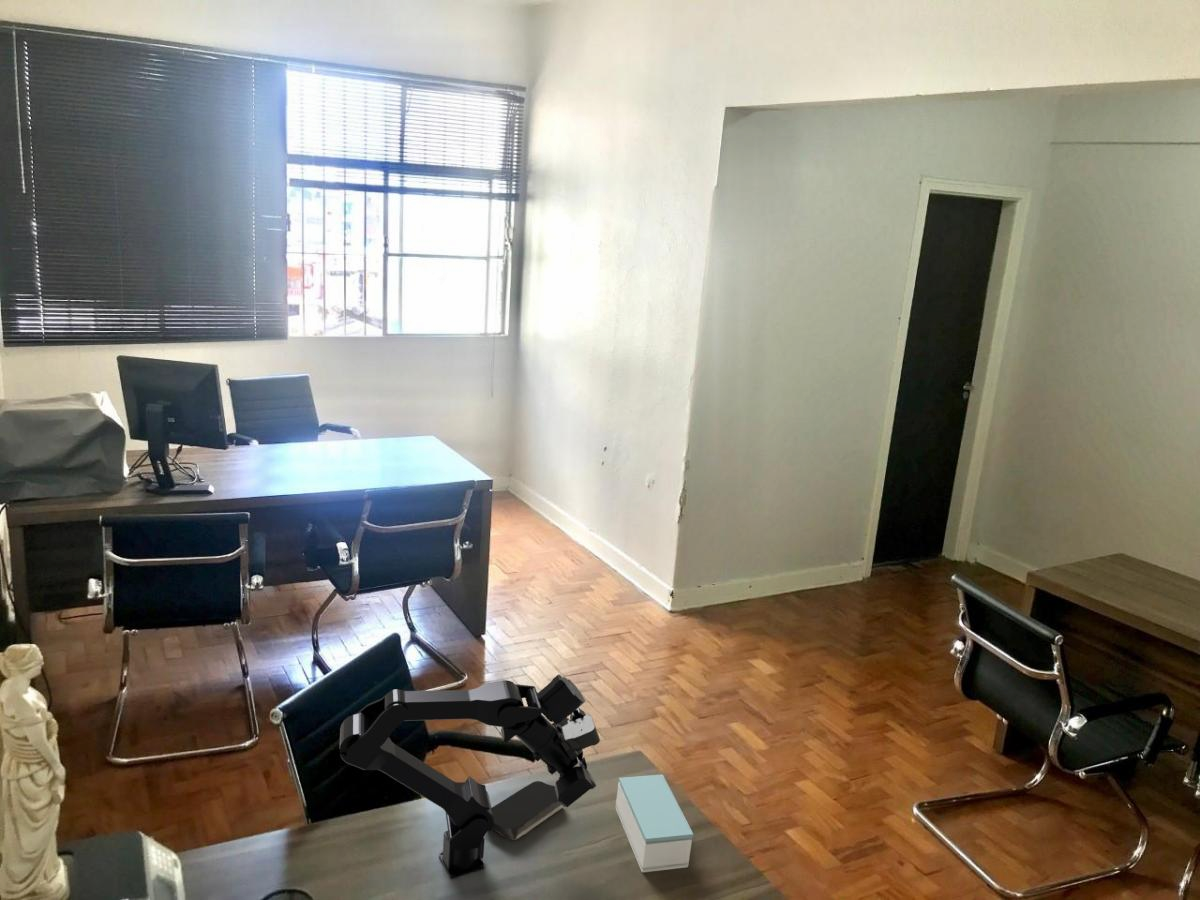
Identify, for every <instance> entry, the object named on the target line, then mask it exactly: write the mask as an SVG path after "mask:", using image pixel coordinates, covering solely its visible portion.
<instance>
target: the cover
mask: <svg viewBox="0 0 1200 900" xmlns="http://www.w3.org/2000/svg"><path fill="white" fill-rule="evenodd" d="M618 783H620V785H621V788H622V790H623V792H624V795H625V797H626V799H627V801H628V804H629V806H630V808H631V811H632V813H633V815H634V818H635V820H636V822H637V824H638V827H639V829H640V831H641V834H642V836H643V838H644V840H645V843H647V842H657V841H667V840H677V839H687V838H691V839H693V838H694V833H693V830H692V829H691V827H690V825H689V823H688V821H687V819H686V817H685V815H684V813H683V811H682V809H681V807H680V805H679V803H678V801H677V799H676V797H675V796H674V793H673V792H672V789H671V788H670V785H669V784H668V782H667V780H666V778H665V776H664V775H663V774H650V775H638V776H637V775H636V776H627V777H626V776H624V777H619V778H618Z"/></svg>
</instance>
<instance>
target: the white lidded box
mask: <svg viewBox="0 0 1200 900" xmlns="http://www.w3.org/2000/svg"><path fill="white" fill-rule="evenodd" d="M615 800H616V801H615V810H616V813H617V815H618V818H619V820H620V822H621V826H622V827H623V830H624V832H625V835H626V838H627V839H628V842H629V844H630V847H631V849H632V852H633V854H634V857H635V859H636V862H637V864H638V867H639V868H640V870H641V873H650V872H659V871H665V870H667V871H669V870H674V869H675V870H676V869H684V868H689V864H690V863H689V862H690V855H691V850H692V842H693V840H692V839H693V838H687V839H677V840H667V841H657V842H647V843H645V840H644V838H643V836H642V834H641V831H640V829H639V827H638V824H637V822H636V820H635V818H634V815H633V813H632V811H631V808H630V806H629V804H628V801H627V799H626V797H625V795H624V792H623V790H622V788H621V785H620V783H619V782H618V783H617V792H616V799H615Z"/></svg>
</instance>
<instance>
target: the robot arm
mask: <svg viewBox="0 0 1200 900" xmlns="http://www.w3.org/2000/svg"><path fill="white" fill-rule="evenodd" d="M523 699H525V702H526V706H525V705H524V701H523ZM585 702H586V699H585V698H584V695H583V694H582V692H581V691H580V689H578V687H577V686H576V685H575V684H574V682H573V681H572V680H571V679H569V678H567V677H565V676H562V675H561V674H557V675H556V676H554V677H553V678H552V680H551V681H550V682H549V683H548V684H547V685H546V686H544V687H543V688H542V689H541V690H540V691H537V688H536V686H535V685H534V686H533V685H526V684H517V683H514V682H513V681H512V680H508V679H507V680H497V681H492V682H487V683H483V684H482V685H480V686H478V687H476V688H473V689H472V688H471V689H456V690H455V689H450V690H449V689H447V690H444V689H443V690H402V689H399V688H396V689H391V690H390V691H389V692H387V693H386V694H385V695H383V696H382V697H381V698H380V699H377V700H375V701H372V702H370V703H367V704H366V705H365V706H364V707H362V709H360V710H359V711H357V713H355V714H352V715H350V716H349V715H348V717H346V718H345V719H344V720H343V722H342V723H341V725H340V729H339V731H340V732H339V755H340V758H341V759H342V761H344V763H346V764H348V765H350V766H354V767H356V768H358V769H360V770H363V771H380V772H382V773H383V774H386V775H387V776H388V777H390V778H392V779H394V780H395V781H396V782H399V783H400V784H402V785H403V786H405V787H407V788H408V789H409V790H412V791H413V792H415V793H417V794H418V795H419V796H421V797H423V798H424V799H427V800H428V801H429V802H431V803H432V804H434V805H436V806H438V807H439V808H441V809H442V810H443V811H444V812H445V818H446V819H445V820H446V827H447V830H446V831H444V832H443V842H442V851H441V852H439V853H438V856H439V859H440V861H441V863H442V865H443V867H444V868H445V870H446V872H447V874H448V876H449V878H451V879H456V878H459V877H461V876H465V875H468V874H471V873H473V872H478V871H481V870H483V869H485V866H486V865H485V863H484V862H483V860H482V859H483V858H484V857H485V842H486V841H485V840H486V839H485V836H486V834H487V833H488V832H489V831H490V830H492V829H491V828H492V826H493V823H494V818H493V813H492V804H491V803H492V802H491V799H490V798H491V797H490V795H489V792H488V791H487V787H486V785H485V784H482V783H479V782H477V781H476V780H475V779H474V777H473V778H472V777H471V776H468V777H467V778H466V780H465V781H463V782H462V781H460V782H457V781H454V780H452V779H451V778H449V777H448V776H446V775H444V774H443V773H441V772H440V771H438V770H436V769H435V768H433V767H431V766H430V765H429V764H427V763H425V762H424V761H422V760H421V759H419V757H418V758H417V757H416V756H414V755H413V754H411V753H409V752H408V751H406V750H405V749H403V748H402V747H400V746H398V745H397V744H396V743H394V742H393V741H392V740H391V738H390V736H391V735H392V733H393V732H394V731H395V729H397V727H399V726H400V725H401V724H402V723H403V722H409V721H448V720H452V721H453V720H472V721H477V722H479V723H482V724H483V725H487V726H490V727H491V726H492V727H499V728H501V730H500V732H501V737H502V741H503V742H504V743H505V744H506V743H508V742H509V741H511V740H512V739H513V738H514V737H516V738H517V739H519V741H521V743H522V744H524V745H525V746H526V747H527V748H528V750H530V751H531V752H532V756H533V759H534V760H535V761H536V762H539V761H540V760H541V761H542V762H543V763H544V764H545V765H546V767H547V772H548V773H549V774H550V775H554V774H556V773H558V774H559V777H558V779H557V780H556V781H555V785H554V786H555V791H556V795H557V799H558V802H559V803H561V804H562V805H563V807H564V808H568V807H570V806H571V805H572V804H573V803H575V802H576V801H577V800H579V799H580V798H581V797H582V796H583V795H585V794H586V793H588V792H589V791H590V790H594V789H595V788H596V787H597V784H596V782H595V781H596V780H595V779H594V778H593V776H592V774H591V773H590V771H589V770H588V763H587V761H586V757H584V751H583V750H584V749H586V748H587V749H588V748H589V747H591V746H597V745H598V744H599V743H600V742H601V741H600V740H601V739H600V736H599V732H598V729H597V727H596V725H595V722H594V720H593V717H592V715H591V714H590V713H589V712H588V711H587V712H585V711H584V710H583V709H582V708H580V707H581V706H582V705H583V704H585Z"/></svg>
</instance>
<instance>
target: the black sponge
mask: <svg viewBox="0 0 1200 900" xmlns="http://www.w3.org/2000/svg"><path fill="white" fill-rule="evenodd" d="M563 807H564V806H563V805H562V804H561V803H559V802H558V799H557V795H556V791H555V785H551V784H548V783H545V782H543V781H540V780H536V781H535V780H534V781H533V782H531V783H529V784H527V785H526V786H524V787H522V788H521V789H519V790H518V791H516V792H514V793H513V794H512V795H509V796H508V797H506V798H505V799H503V800H502V801H500V802H498V803H497V804H495V805H493V806H491V808H492V813H493V818H494V823H493V826H492V828H491V829H490V830H491V831H493V832H494V831H495V832H496V833H498V834H500V835H501V836H502V837H504V838H505V840H506V839H507V840H510V841H516V840H517V839H519V838H521V837H522V836H524V835H526V834H528V832H530V831H532V829H534V828H535V827H536V826H539V825H540V824H541V823H542V822H544V821H545V820H547V819H548V818H550V817H551V816H553V815H554V814H556V813H557V812H559V811H560V810H562V808H563Z"/></svg>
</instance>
